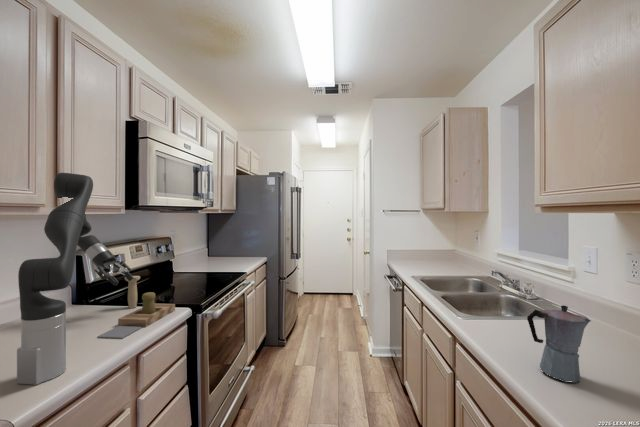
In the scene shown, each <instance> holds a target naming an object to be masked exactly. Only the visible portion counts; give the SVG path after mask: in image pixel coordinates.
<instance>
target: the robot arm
mask: <svg viewBox="0 0 640 427" xmlns="http://www.w3.org/2000/svg"><path fill="white" fill-rule="evenodd" d="M93 188H94V182H93V179H92V177H91V176H89V175H85V174H78V173H72V172H71V173H69V172H59V173H57V174H56V175H55V177H54V181H53V191H54V194H55V197H56V199H57V198H62V197H68V198H73V199H71V200H70V201H68V202H66V203H64V204H62V205H60V204H59V205H58V206H56V207H55V208H53V209H51V211H50V212H49V215H48V216H47V219H46V222H45V224H44V227H43V228H44V229H43V230H44V235H45V237H46V238H47V239H48V241H50V242H51V244H52V245H54V246H55V248H56V249H57V250H58V252H59V254H60V255H59V256H58V257H47V258H44V257H43V258H32V259H30V258H29V259H26V260H24V261H22V263H21V265H20V266H19V269H18V274H17V275H18V290H19V291H18V292H19V309H20V347H17V349H16V384H19V385H35V386H36V385H39V384H41V383H44V382H47V381H50V380H52V379H55V378H57V377H58V376H60V375H62V374H63V373H65V371H66V370H67V327H66V326H67V305H66V302H65V301H64V300H62V299H54V298H50V297H47V296H45V295H43V294H42V293H41V292H49V291H58V290H63V289H66V288H68V287H69V285H70V283H71V281H72V278H73V273H74V267H75V259H76V252H77V248H78V247H79V248H80V249H81V250H82V251H83V252H84V254H85V255H86V256H87V258H88V259H89V260H90V261H91V262H92V263H93V264H94V265H95V267H96V268H95V269H94V272H95V273H96V274H97V275H98V277H99V278H100V279H101V280H102V281H105V280H107V281H108V282H110V284H112V285H113V286H117V285H118V284H119V283H120V282H119V281H118V279H117V278H116V277H115V276H113V274H119V275H120V274H121V275H123V276H124V278H125V277H126V278H127V279H128V280H129V281H131V280H132V279H133V276H134V275H132V274H131V273H130V272H131V270H132V269H131V268H130V267H129V265H128V264H127V263H126V262H124V260H121V261H119V262H117V261H116V256H115V255H114V254H113V253H112V252H111V251H110V250H109V248H108V247H106V246H105V245H104V244H103V243H102V242H101V241H100V240H99V239H98V238H97V237H96V236H95V235H92V234H91V235H88V234H90V232H91V231H92V225H91V224H90V222H89V221H88V220H87V214H85V212H86V210H87V206H88V204H89V201H90V199H91V197H92V193H93Z"/></svg>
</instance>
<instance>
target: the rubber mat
mask: <svg viewBox="0 0 640 427" xmlns="http://www.w3.org/2000/svg"><path fill="white" fill-rule="evenodd" d="M141 329H143V327H134V326H118V325H117V326H116V327H113V328H112V329H109V330H108V331H105V332H103V333H101V334H99V335H98V336H96V337H97V339H116V340H117V339H119V340H120V339H121V340H123V339H125V338H127V337H129V336H131V335H132V334H134V333H135V332H138V331H139V330H141Z"/></svg>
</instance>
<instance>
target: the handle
mask: <svg viewBox="0 0 640 427" xmlns="http://www.w3.org/2000/svg"><path fill="white" fill-rule="evenodd" d="M132 276H133V279H132V280H131V281H129V280H128V279H127V278H126V277H125V276H124V281H126V282H128V283H127V284H128V285H127V286H128V288H127V289H128V290H127V304H128V308H129V309H135V308H137V306H138V305H137V304H138V287H137V286H138V284H137V282H138V281H139V280H140V279H141V276H140V275H132Z"/></svg>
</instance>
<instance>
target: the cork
mask: <svg viewBox="0 0 640 427" xmlns="http://www.w3.org/2000/svg"><path fill="white" fill-rule="evenodd" d="M155 299H156V293H155V292H154V291H153V292H151V291H148V292H144V293H143V294H142V296H141V300H142V307H141V308H142V313H141V314H153V313H155V312H156V309H155V303H156V302H155Z"/></svg>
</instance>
